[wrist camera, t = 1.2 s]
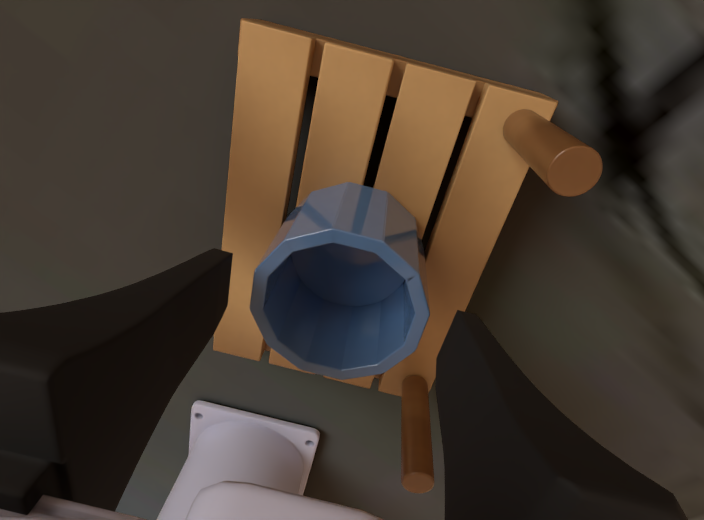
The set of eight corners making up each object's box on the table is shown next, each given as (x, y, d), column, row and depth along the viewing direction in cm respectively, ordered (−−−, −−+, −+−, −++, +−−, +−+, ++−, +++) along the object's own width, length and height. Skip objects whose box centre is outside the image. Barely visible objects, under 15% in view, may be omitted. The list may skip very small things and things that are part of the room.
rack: (427, 361, 23) (438, 507, 16) (229, 311, 23) (152, 437, 16) (540, 92, 16) (645, 141, 9) (259, 19, 16) (149, 11, 9)
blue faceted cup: (399, 321, 18) (398, 395, 15) (274, 290, 18) (242, 356, 15) (441, 204, 16) (452, 259, 12) (295, 167, 16) (261, 210, 12)
